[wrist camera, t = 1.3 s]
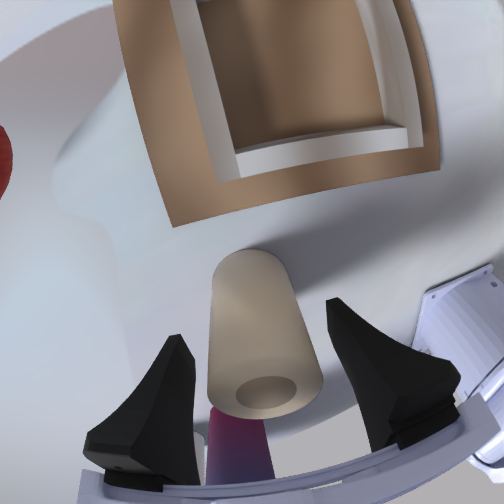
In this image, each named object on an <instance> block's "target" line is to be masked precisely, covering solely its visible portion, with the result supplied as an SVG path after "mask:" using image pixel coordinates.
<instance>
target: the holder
mask: <svg viewBox="0 0 504 504" xmlns="http://www.w3.org/2000/svg"><path fill="white" fill-rule="evenodd" d="M113 6H114V12H115V18H116V23H117V29H118V35H119V40H120V45H121V50H122V54H123V59H124V64H125V68H126V73H127V77H128V81H129V85H130V89H131V93H132V97H133V101H134V105H135V109H136V113H137V116H138V120H139V124H140V127H141V131H142V134H143V138H144V141H145V145H146V148H147V151H148V155H149V158H150V161H151V164H152V168H153V171H154V174H155V177H156V180H157V183H158V186H159V189H160V192H161V195H162V198H163V201H164V204H165V207H166V210H167V213H168V216H169V219H170V221H171V224H172V227H173V228H174V227H178V226H181V225H185V224H188V223H192V222H196V221H200V220H203V219H207V218H211V217H215V216H219V215H223V214H226V213H230V212H234V211H238V210H242V209H246V208H251V207H255V206H259V205H263V204H267V203H271V202H276V201H280V200H284V199H289V198H293V197H298V196H302V195H307V194H312V193H316V192H321V191H326V190H331V189H335V188H340V187H345V186H350V185H355V184H361V183H366V182H371V181H377V180H382V179H388V178H393V177H399V176H405V175H411V174H417V173H424V172H430V171H437V170H440V148H439V134H438V123H437V114H436V106H435V99H434V93H433V87H432V81H431V76H430V71H429V66H428V62H427V58H426V54H425V50H424V46H423V42H422V38H421V35H420V31H419V28H418V25H417V22H416V19H415V16H414V13H413V10H412V7H411V5H410V2H409V0H113Z"/></svg>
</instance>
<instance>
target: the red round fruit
mask: <svg viewBox="0 0 504 504" xmlns="http://www.w3.org/2000/svg"><path fill="white" fill-rule="evenodd" d="M12 157H13V154H12V148H11V142H10V140H9V138H8V136H7V134H6V132H5V130H4V128H3V127H2V126H0V199H1V197H2V195H3V193H4V192H5V190H6V188H7V185H8V183H9V180H10V176H11V171H12Z"/></svg>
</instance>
